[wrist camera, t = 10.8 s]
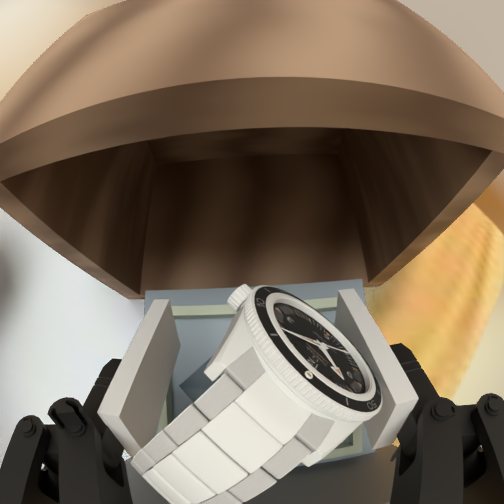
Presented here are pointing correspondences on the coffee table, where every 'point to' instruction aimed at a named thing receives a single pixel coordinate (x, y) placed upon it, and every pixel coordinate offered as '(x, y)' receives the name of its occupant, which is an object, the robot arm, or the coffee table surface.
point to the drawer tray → (285, 489)
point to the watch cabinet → (247, 142)
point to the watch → (261, 403)
